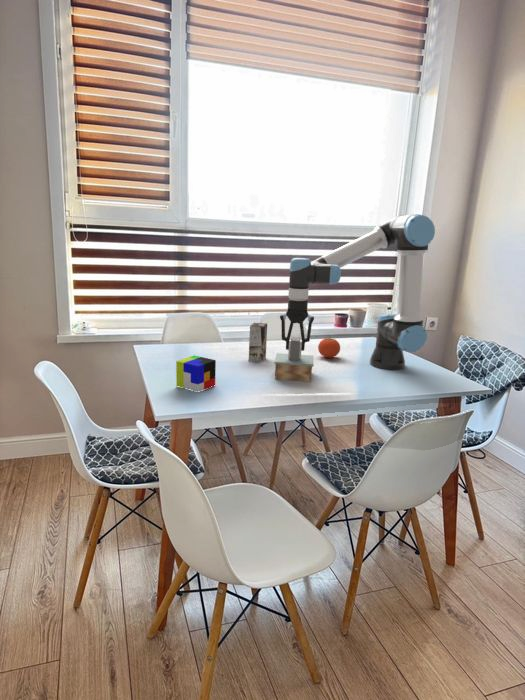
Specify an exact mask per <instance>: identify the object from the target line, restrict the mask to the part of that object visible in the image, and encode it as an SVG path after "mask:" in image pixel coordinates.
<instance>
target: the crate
mask: <svg viewBox="0 0 525 700" xmlns="http://www.w3.org/2000/svg"><path fill="white" fill-rule="evenodd" d="M274 370H275V371H274V380H283V381H284V380H285V381H299V382H311V383H312V373H313V372H312V371H313V366H298V365H284V364H275V369H274Z"/></svg>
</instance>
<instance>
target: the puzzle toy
mask: <svg viewBox="0 0 525 700" xmlns="http://www.w3.org/2000/svg"><path fill="white" fill-rule="evenodd" d="M175 365H176V375H175V376H176V377H175V378H176V387H177V386H180V387H183V388H187V389H191V390H193V391H197V392H198V391H201V390H204V389H206V388H209V387H211V386H214V385H215V386H216V366H217V365H216V359H212V358H208V357H204V356H200V355H196V354H195V355H191V356H188V357H185V358H182V359H181V358H180V359H179V360H176V364H175ZM215 386H214V387H215ZM211 388H212V387H211ZM209 389H210V388H209ZM204 391H205V390H204Z"/></svg>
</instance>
